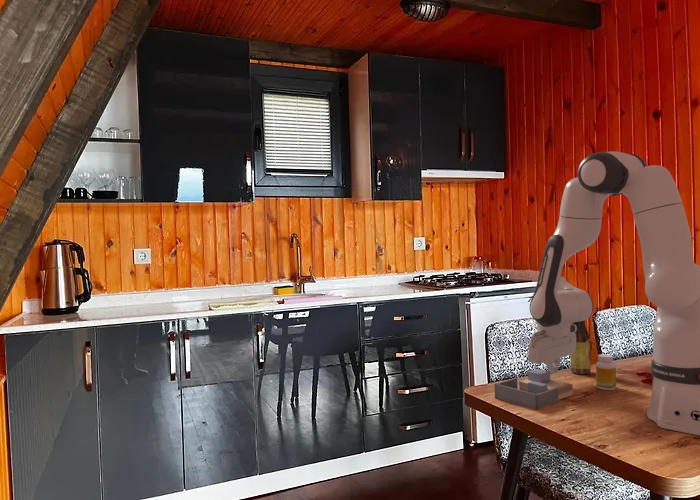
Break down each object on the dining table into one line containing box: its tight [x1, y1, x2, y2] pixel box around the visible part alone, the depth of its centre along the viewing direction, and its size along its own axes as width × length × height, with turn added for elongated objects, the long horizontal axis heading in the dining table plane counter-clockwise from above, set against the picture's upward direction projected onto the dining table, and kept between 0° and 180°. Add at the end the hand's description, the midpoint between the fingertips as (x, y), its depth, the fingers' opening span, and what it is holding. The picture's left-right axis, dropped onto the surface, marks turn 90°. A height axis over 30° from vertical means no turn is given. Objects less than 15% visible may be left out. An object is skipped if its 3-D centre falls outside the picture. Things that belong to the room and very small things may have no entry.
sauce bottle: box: [569, 320, 592, 375], centre depth 177 cm, size 7×6×20 cm
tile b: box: [527, 368, 551, 383], centre depth 160 cm, size 4×4×2 cm
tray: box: [494, 377, 559, 411], centre depth 152 cm, size 14×10×4 cm
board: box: [518, 378, 574, 401], centre depth 157 cm, size 12×8×3 cm
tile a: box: [528, 381, 547, 394], centre depth 150 cm, size 4×4×2 cm
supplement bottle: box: [595, 353, 617, 391], centre depth 160 cm, size 5×5×10 cm
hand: (552, 373), depth 165 cm, fingers closed
